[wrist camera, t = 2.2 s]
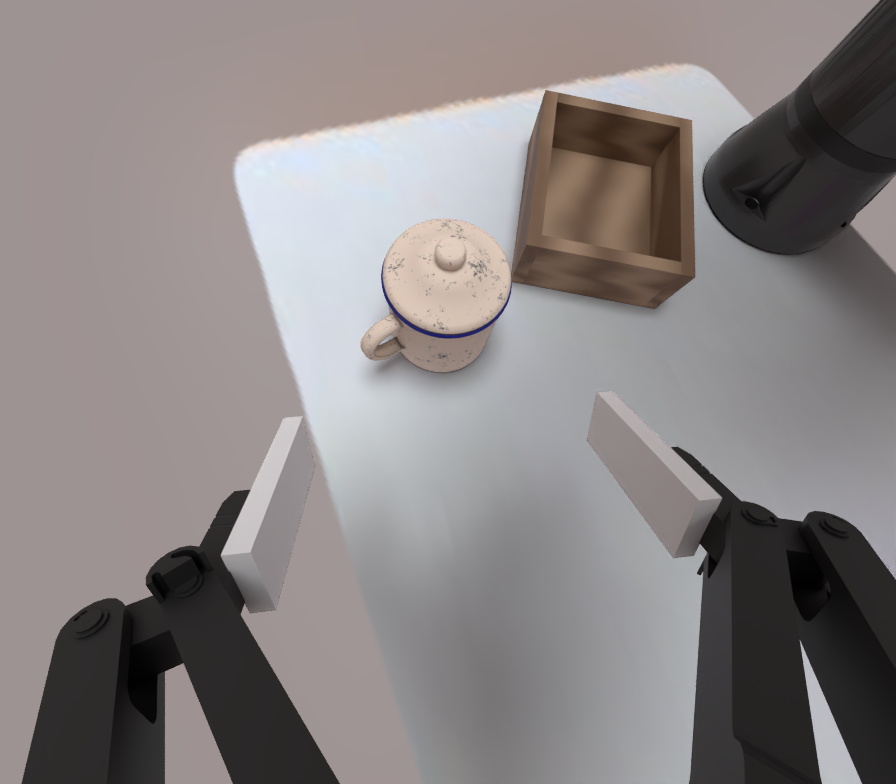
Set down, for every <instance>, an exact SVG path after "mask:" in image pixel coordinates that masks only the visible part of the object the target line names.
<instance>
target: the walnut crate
mask: <svg viewBox="0 0 896 784" xmlns="http://www.w3.org/2000/svg"><path fill="white" fill-rule="evenodd" d="M511 277H512V282H517V283H522V284H528V285H533V286H538V287H544V288H549V289H554V290H559V291H565V292H570V293H575V294H580V295H586V296H591V297H596V298H602V299H607V300H612V301H617V302H623V303H628V304H633V305H638V306H644V307H649V308H654V309H655V308H656V307H657V306H659V305H660V304H661V303H663V302H664V301H665V300H666V299H668V298H669V297H670V296H672V295H673V294H674V293H675V292H677V291H678V290H679V289H681V288H682V287H683V286H684V285H686V284H687V283H688V282H690V281H691V280H692V279H693V278H695V242H694V195H693V147H692V120H688V119H683V118H678V117H674V116H669V115H664V114H659V113H654V112H649V111H645V110H640V109H635V108H630V107H625V106H620V105H615V104H611V103H606V102H601V101H596V100H591V99H586V98H582V97H577V96H572V95H567V94H562V93H557V92H552V91H548V90H546V91H545V94H544V97H543V100H542V103H541V106H540V110H539V113H538V116H537V119H536V122H535V125H534V129H533V132H532V135H531V138H530V141H529V146H528V154H527V161H526V169H525V176H524V184H523V191H522V199H521V206H520V214H519V221H518V229H517V236H516V244H515V251H514V258H513V266H512V273H511Z"/></svg>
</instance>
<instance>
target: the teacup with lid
mask: <svg viewBox="0 0 896 784" xmlns="http://www.w3.org/2000/svg"><path fill="white" fill-rule="evenodd" d="M381 281H382V288H383V292H384V296H385V298H386V301H387V303H388V304H389V310H390V315H388V316H386V317H385V318H383V319H382V320H380V321H379V322H377V323H376V324H374V325H373V326H372V327H371V328H370V329H369V330H368V331H367V332H366V333H365V335H364V336H363V338H362V340H361V349H362V351H363V353H364V354H365V355H366V357H368V358H369V359H371V360H384V359H387V358H389V357H391V356H393V355H395V354H397V353H399V352H400V351H401V353H402V354H403V355H404V356H405V357H406V358H407V359H408V360H409V361H410V362H412V363H413V364H415V365H416V366H418V367H420V368H422V369H425V370H428V371H433V372H450V371H455V370H458V369H461V368H463V367H465V366H467V365H468V364H470V363H471V362H472V361H474V360H475V359H476V358H477V357H478V355H479V354H480V353H481V351H482V350H483V348H484V346H485V344H486V341H487V339H488V337H489V335H490V332H491V330H492V328H493V326H494V324H495V321H496V320H497V319H498V317H499V316H500V315H501V314H502V312H503V311H504V309H505V307H506V305H507V303H508V301H509V298H510V294H511V288H512V277H511V271H510V266H509V262H508V260H507V257H506V255H505V254H504V252H503V250H502V249H501V247H500V246H499V244H498V243H497V242H496V241H495V240H494V239H493V238H492V237H491V236H490V235H489V234H488V233H486V232H485V231H483V230H482V229H480V228H478V227H476V226H474V225H472V224H470V223H467V222H464V221H460V220H454V219H434V220H429V221H425V222H422V223H419V224H417V225H415V226H413V227H411V228H409V229H408V230H406V231H405V232H404V233H402V234H401V235H400V236H399V237H398V238H397V239H396V240H395V242H394V243H393V244H392V246H391V247H390V249H389V251H388V252H387V255H386V257H385V259H384V262H383V266H382V273H381ZM392 333H393V335H394V338H393V339H391V340H389V341H387V342H386V343H383V344H381V345H379V344H380V343H381V342H382V341H383V340H384V339H385V338H386V337H388V336H389V335H391V334H392Z"/></svg>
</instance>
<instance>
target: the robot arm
mask: <svg viewBox="0 0 896 784" xmlns="http://www.w3.org/2000/svg"><path fill="white" fill-rule="evenodd" d="M895 175H896V0H880V1H879V2H878V3H877V4H876V5H875V6H874V7H873V8H872V9H871V10H870V11H869V12H868V13H867V14H866V16H865V17H864V18H863V19H862V20H861V21H860V22H859V23H858V24H857V25H856V26H855V27H854V28H853V29H852V30H851V31H850V32H849V34H848V35H846V37H845V38H844V39H843V40H842V41H841V42H840V43H839V44H838V45H837V46H836V47H835V48H834V49H833V50H832V51H831V52H830V54H829V55H828V56H827V57H826V58H825V59H824V60H823V61H822V62H821V63H820V64H819V65H818V66H817V67H816V68H815V70H813V71H812V73H810V75H809V76H808V77H807V78H806V79H805V80H804V81H803V82H802V83H801V84H800V85H799V86H798V87H797V88H796V90H794V91H793V92H792V93H791V94H789V95H788V96H786V97H785V98H784V99H782V100H781V101H779V102H778V103H777V104H775V105H774V106H772V107H771V108H769V109H768V110H767V111H765V112H764V113H762V114H761V115H760V116H758V117H757V118H756V119H754V120H753V121H752V122H750V123H749V124H748V125H745V126H744V127H742V128H740V129H739V130H737V131H736V132H734V133H733V134H732V135H731V136H730V137H728V138H727V139H726V140H725V142H724V143H723V144H722V145H721V146H720V147H719V148H718V150H717V151H716V152H715V153H714V154H713V155H712V156H711V158H710V159H709V161H708V163H707V165H706V168H705V172H704V188H705V193H706V196H707V199H708V201H709V204H710V206H711V207H712V209H713V211H714V212H715V214H716V215H717V217H718V218H719V219H720V220H721V222H722V223H723V224H724V225H725V226H726V227H727V228H728V229H729V230H730V231H732V232H733V233H734V234H735V235H737V236H738V237H740V238H741V239H743V240H744V241H746V242H748V243H750V244H752V245H754V246H756V247H758V248H761V249H764V250H767V251H770V252H775V253H781V254H797V253H803V252H807V251H810V250H812V249H814V248H816V247H818V246H819V245H821V244H823V243H824V242H826V241H828V240H829V239H831V238H832V237H834V236H836V235H837V234H839V233H840V232H841V231H842V230H844V229H845V228H846V227H847V226H848V225H849V224H850V223H851V221H852V220H853V219H854V217H855V216H856V214H857V213H858V212H859V211H860V210H862V209H863V207H865V206H866V205H867V204H868V203H869V202H870V201H871V200H872V199H873V198H874V197H875V196H876V195H877V194H878V193H879V192H880V191H881V190H882V189H883V188H884V187H885V186H886V185H887V184H888V183H889V182H890V180H891V179H892V178H893V177H894V176H895ZM587 441H588V443H589V444H590V445H591V447H592V448H593V449H594V451H595V452H596V454H597V455H598V456H599V458H600V459H601V460H602V462H603V463H604V464H605V466H606V467H607V469H608V470H609V471H610V473H611V474H612V475H613V477H614V478H615V479H616V481H617V482H618V484H619V485H620V486H621V488H622V489H623V490H624V492H625V493H626V494H627V496H628V497H629V499H630V500H631V501H632V503H633V504H634V505H635V507H636V508H637V510H638V511H639V512H640V514H641V515H642V516H643V518H644V519H645V520H646V522H647V523H648V525H649V526H650V527H651V529H652V530H653V531H654V533H655V534H656V535H657V537H658V538H659V540H660V541H661V542H662V544H663V545H664V546H665V548H666V549H667V550H668V552H669V553H670V555H671V556H672V557H673V558H679V557H687V556H694V554H695V552H696V550H697V548H698V546H699V544H701V545H702V547H703V548H704V549H705V550H706V551H707V555H706V556H705V558H704V560H703V562H702V564H701V566H700V568H699V570H698V572H697V574H698V575H701V574H702V572H703V586H702V602H701V618H700V633H699V649H698V665H697V680H696V696H695V712H694V727H693V743H692V759H691V773H690V781H689V784H822V782H821V778H820V772H819V765H818V759H817V752H816V745H815V739H814V732H813V725H812V719H811V712H810V706H809V699H808V692H807V686H806V679H805V672H804V666H803V659H802V652H801V646H800V641H801V643H802V645H803V648H804V650H805V652H806V655H807V657H808V659H809V662H810V664H811V666H812V668H813V671H814V673H815V675H816V678H817V680H818V682H819V685H820V687H821V689H822V692H823V694H824V696H825V699H826V701H827V703H828V706H829V708H830V710H831V713H832V715H833V717H834V719H835V722H836V724H837V726H838V729H839V731H840V733H841V736H842V738H843V740H844V743H845V745H846V747H847V750H848V752H849V754H850V757H851V759H852V761H853V764H854V766H855V768H856V770H857V773H858V775H859V777H860V780H861V782H862V784H896V580H895V578H894V577H893V576H892V574H891V573H890V571H889V570H888V569H887V567H886V566H885V565H884V563H883V562H882V561H881V559H880V558H879V556H878V555H877V554H876V552H875V551H874V550H873V548H872V547H871V545H870V544H869V543H868V541H867V540H866V539H865V537H864V536H863V535H862V533H861V532H860V531H859V530H858V529H857V528H856V527H855V526H853V525H852V524H850V523H849V522H847V521H846V520H844V519H842V518H840V517H838V516H835V515H833V514H829V513H826V512H819V511H813V512H810V513H808V514H807V516H806V517H805V519H804V520H803V522H801V521H794V520H787V519H780V518H777V517H776V516H775V515H774V514H773V513H772V512H770V511H769V510H767V509H766V508H764V507H762V506H760V505H757V504H755V503H750V502H746V501H743V502H742V501H740V500H739V499H738V498H737V497H736V496H735V495H734V494H733V493H732V492H731V491H730V490H729V489H728V488H727V487H725V486H724V485H723V484H722V483H721V482H720V481H719V480H718V479H717V478H716V477H715V476H714V475H713V474H710V472H709V471H708V470H707V469H706V468H705V467H704V466H702V465H701V463H700V462H699V461H698V460H697V459H695V458H694V457H693V456H692V455H691V454H689V453H688V452H686V451H684V450H682V449H681V448H679V447H670V446H669V445H668V444H667V443H666V442H664V441H663V440H662V439H661V438H660V437H659V436H658V435H657V434H656V433H655V432H654V431H653V430H652V429H651V428H650V427H649V426H648V425H647V424H646V423H645V422H644V421H643V420H642V419H641V418H640V417H639V416H638V415H637V414H636V413H635V412H634V411H633V410H632V409H631V408H630V407H629V406H628V405H627V404H626V403H625V402H624V401H623V400H622V399H620V398H619V397H618V396H617V395H616V394H615V393H614V392H613V391H608V392H597V395H596V400H595V404H594V409H593V414H592V418H591V423H590V428H589V432H588V437H587ZM314 470H315V462H314V458H313V454H312V450H311V446H310V443H309V439H308V435H307V431H306V427H305V423H304V419H303V417H302V416H300V417H287V418H284V419H283V421H282V423H281V425H280V428H279V430H278V432H277V434H276V437H275V438H274V441H273V443H272V445H271V447H270V449H269V452H268V454H267V456H266V458H265V461H264V462H263V464H262V467H261V469H260V471H259V473H258V475H257V478H256V480H255V482H254V484H253V486H252V488H251V490H243V491H234V492H233V493H232V494H231V495H230V496H229V497H228V498H227V499H226V500H225V501H224V502H223V503H222V505H221V507H220V509H219V511H218V512H217V514H216V518H214V520H213V522H212V524H211V526H210V529H208V531H207V533H206V535H205V537H204V539H203V541H202V543H201V544H200V546H199V547H197V546H186V547H180V548H178V549H176V550H174V551H171V552H169V553H167V554H166V555H165V556H163V557H162V558H160V559H159V560H158V561H157V562H156V563H155V564H154V565H153V566H152V567H151V569H150V570H149V572H148V574H147V576H146V586H147V587H148V589H149V590H150V591H151V593H152V594H153V596H151V597H148V598H145V599H143V600H140V601H138V602H135V603H132V604H129V605H127V606H125V605H124V604H123V602H121V601H119V600H118V599H115V598H114V599H113V598H111V599H110V598H109V599H103V600H101V601H97V602H94V603H92V604H91V605H89V606H87V607H85V608H84V609H82V610H80V611H79V612H78V613H77V614H75V615H74V616H73V617H72V618H70V620H69V621H68V622H67V623H66V624H65V625H64V627H63V628H62V629H61V630H60V633H59V635H58V637H57V639H56V642H55V646H54V650H53V654H52V659H51V663H50V667H49V671H48V676H47V680H46V684H45V688H44V692H43V696H42V701H41V705H40V709H39V713H38V718H37V721H36V726H35V730H34V734H33V738H32V742H31V747H30V751H29V755H28V759H27V763H26V767H25V772H24V776H23V781H22V784H165V671H167V670H169V669H171V668H174V667H176V666H178V665H180V664H182V663H184V665H185V667H186V670H187V672H188V675H189V677H190V680H191V682H192V685H193V687H194V690H195V692H196V694H197V697H198V699H199V702H200V704H201V707H202V709H203V712H204V714H205V716H206V719H207V721H208V724H209V726H210V729H211V731H212V734H213V736H214V738H215V741H216V743H217V746H218V748H219V750H220V753H221V756H222V758H223V760H224V763H225V765H226V768H227V770H228V773H229V775H230V777H231V780H232V782H233V784H340V783H339V782H338V780H337V778H336V776H335V775H334V773H333V771H332V770H331V768H330V766H329V765H328V763H327V761H326V759H325V758H324V756H323V754H322V753H321V751H320V749H319V748H318V746H317V744H316V742H315V741H314V739H313V737H312V736H311V734H310V732H309V731H308V729H307V727H306V725H305V724H304V722H303V720H302V719H301V717H300V715H299V714H298V712H297V710H296V708H295V707H294V705H293V703H292V702H291V700H290V698H289V697H288V695H287V693H286V691H285V690H284V688H283V686H282V685H281V683H280V681H279V680H278V678H277V676H276V674H275V673H274V671H273V669H272V668H271V666H270V664H269V663H268V661H267V659H266V657H265V656H264V654H263V652H262V651H261V649H260V647H259V646H258V644H257V642H256V640H255V639H254V637H253V636H252V634H251V632H250V630H249V629H248V627H247V625H246V624H245V622H244V620H243V618H242V617H241V612H242V609H243V606H244V603H245V605H246V607H247V608H248V611H249V613H257V612H265V611H272V610H276V608H277V604H278V600H279V597H280V593H281V590H282V586H283V583H284V579H285V575H286V572H287V568H288V564H289V561H290V557H291V553H292V550H293V546H294V542H295V539H296V535H297V531H298V528H299V524H300V521H301V517H302V513H303V510H304V506H305V502H306V499H307V495H308V491H309V488H310V484H311V480H312V477H313V473H314ZM799 638H800V639H799Z"/></svg>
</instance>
